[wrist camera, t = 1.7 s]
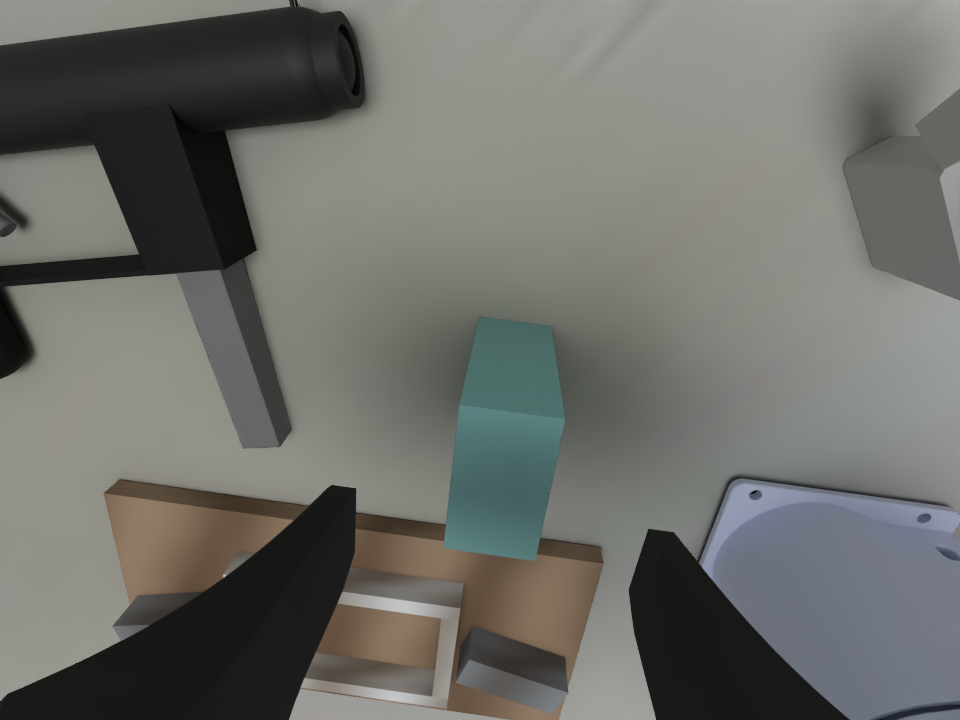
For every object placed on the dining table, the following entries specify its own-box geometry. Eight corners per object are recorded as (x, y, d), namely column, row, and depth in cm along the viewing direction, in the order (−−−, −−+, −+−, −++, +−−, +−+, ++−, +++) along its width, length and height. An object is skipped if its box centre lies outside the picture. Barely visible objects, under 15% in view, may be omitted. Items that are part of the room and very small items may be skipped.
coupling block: (551, 326, 20) (565, 419, 13) (531, 435, 22) (535, 561, 15) (479, 316, 20) (459, 404, 13) (466, 426, 22) (443, 547, 16)
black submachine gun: (413, 453, 20) (313, -62, 13) (-38, 470, 22) (-346, 36, 15) (427, 407, 23) (351, -33, 16) (27, 426, 25) (-204, 45, 18)
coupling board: (600, 547, 24) (609, 596, 21) (555, 707, 29) (558, 763, 26) (118, 479, 24) (72, 520, 22) (156, 649, 29) (121, 698, 27)
